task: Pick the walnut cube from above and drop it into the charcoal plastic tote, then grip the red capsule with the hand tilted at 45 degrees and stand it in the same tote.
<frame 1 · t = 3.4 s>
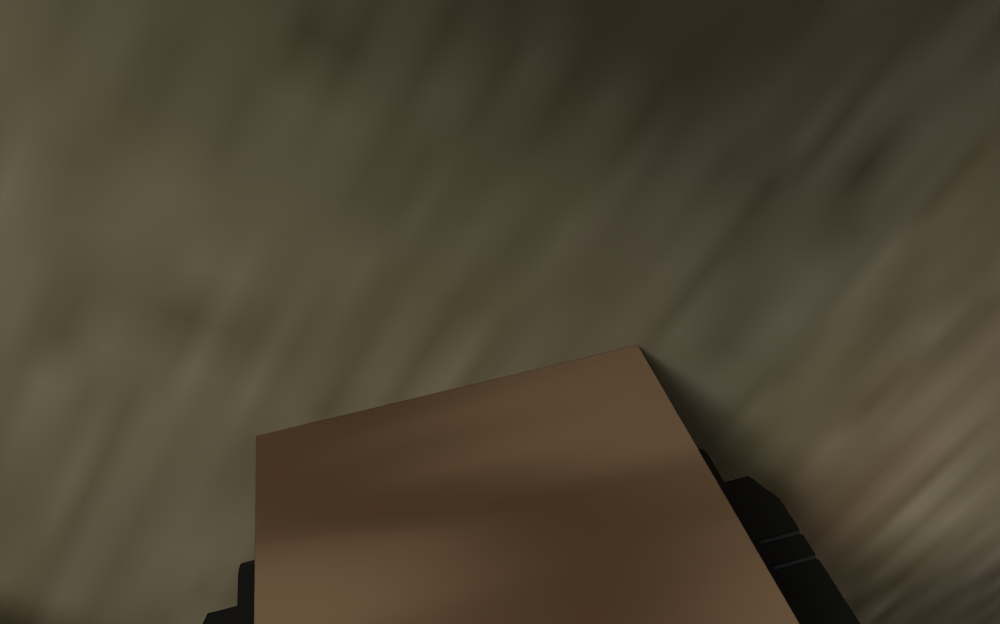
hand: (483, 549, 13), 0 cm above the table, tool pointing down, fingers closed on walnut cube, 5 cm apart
walnut cube: (478, 522, 13), on the table, touching gripper
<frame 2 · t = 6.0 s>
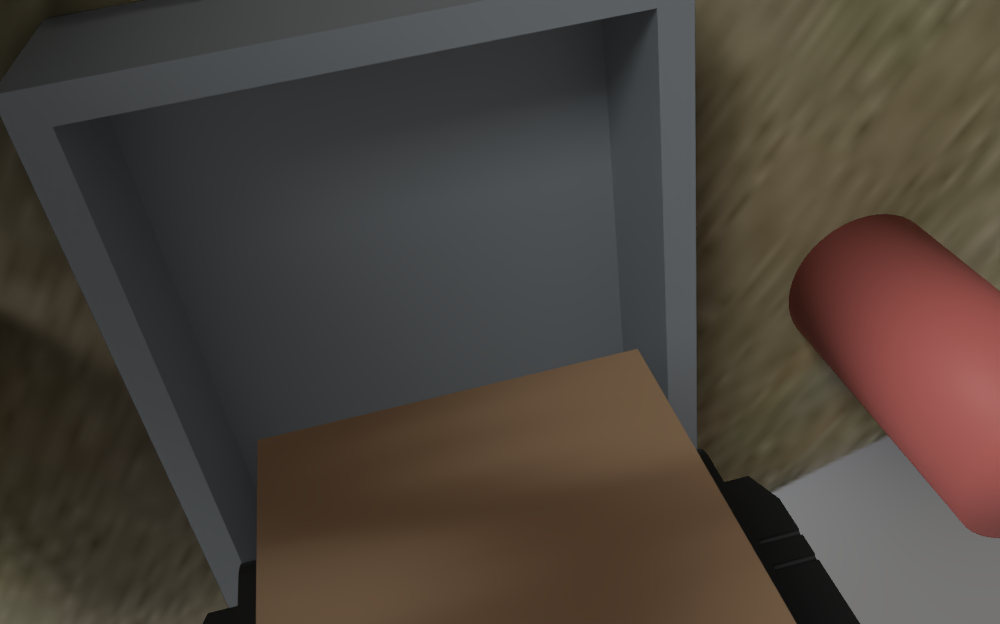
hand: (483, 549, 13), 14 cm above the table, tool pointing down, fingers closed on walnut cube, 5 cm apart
walnut cube: (479, 525, 13), point 14 cm above the table, touching gripper
red capsule: (859, 282, 30), on the table
tote: (407, 276, 27), on the table
when the fingers open (3 cm above the table, at t = 8.5 s): walnut cube drops 1 cm, resting on tote.
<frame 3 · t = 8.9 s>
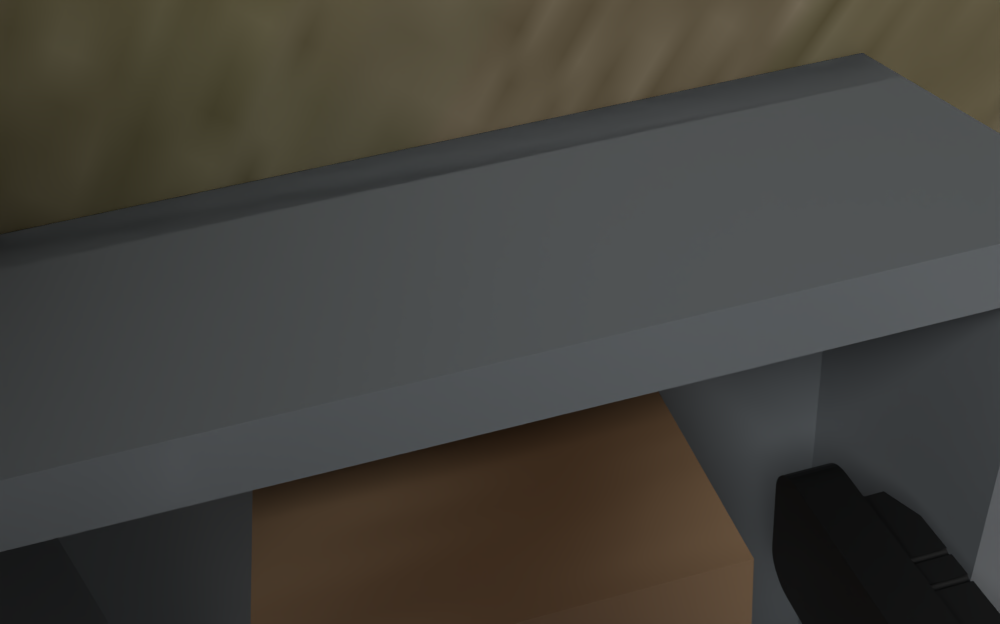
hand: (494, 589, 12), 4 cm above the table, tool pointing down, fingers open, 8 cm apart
walnut cube: (459, 461, 14), point 1 cm above the table, touching tote
tote: (483, 575, 17), on the table
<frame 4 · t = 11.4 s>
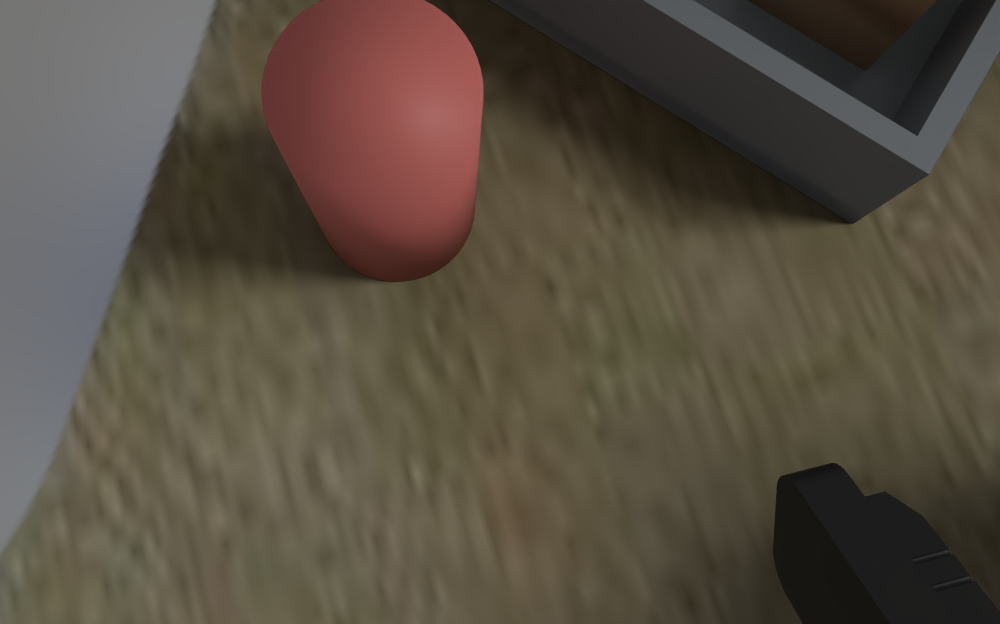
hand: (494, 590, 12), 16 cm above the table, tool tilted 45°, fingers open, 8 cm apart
red capsule: (397, 206, 30), on the table
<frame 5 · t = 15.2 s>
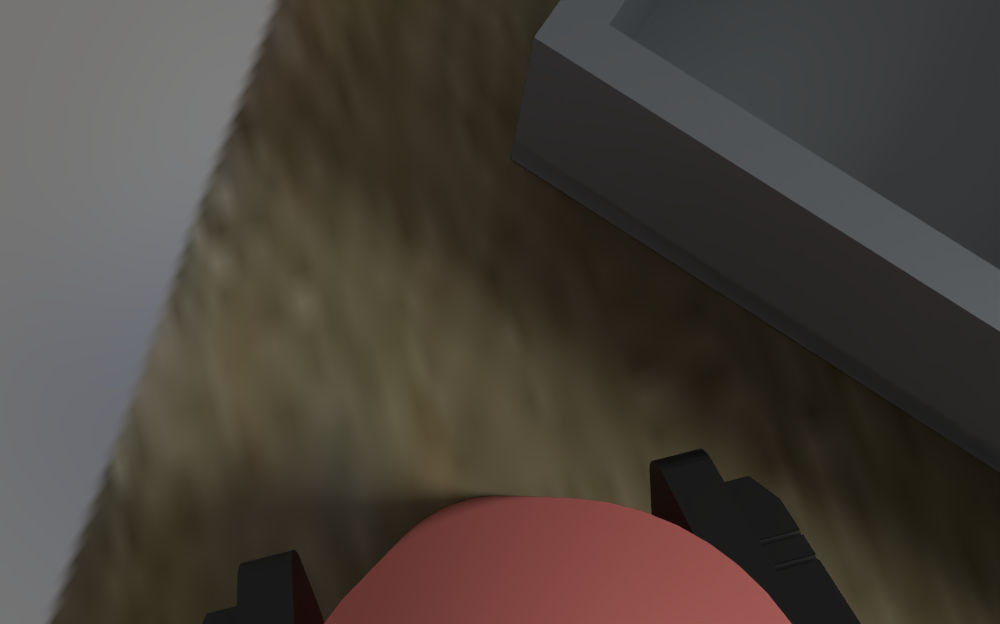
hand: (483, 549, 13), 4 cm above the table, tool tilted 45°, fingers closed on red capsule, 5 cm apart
when the fingers open (7 cm above the table, at t = 20.1 s): red capsule drops 1 cm, resting on tote.
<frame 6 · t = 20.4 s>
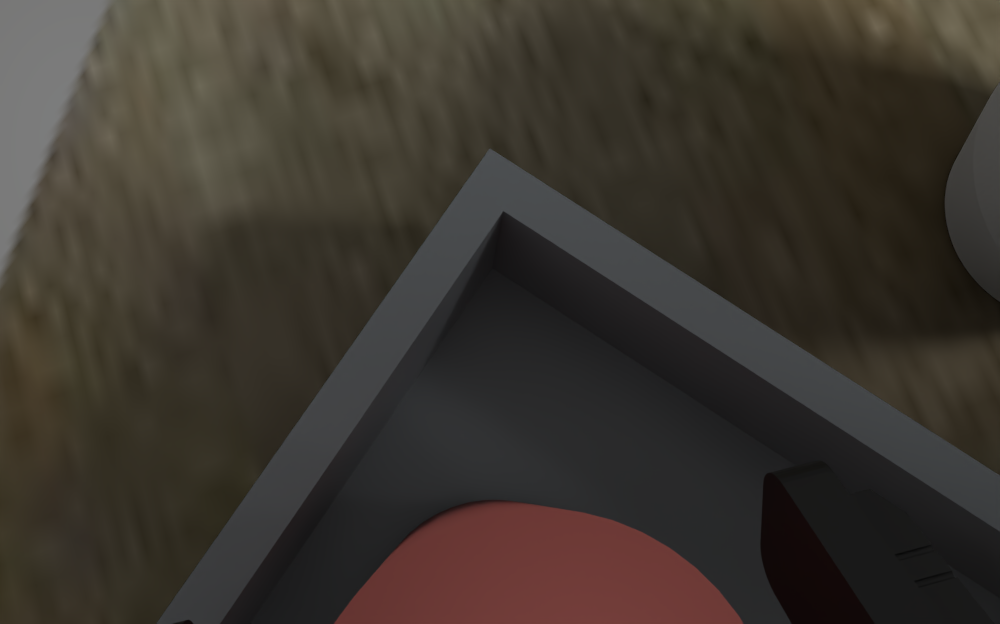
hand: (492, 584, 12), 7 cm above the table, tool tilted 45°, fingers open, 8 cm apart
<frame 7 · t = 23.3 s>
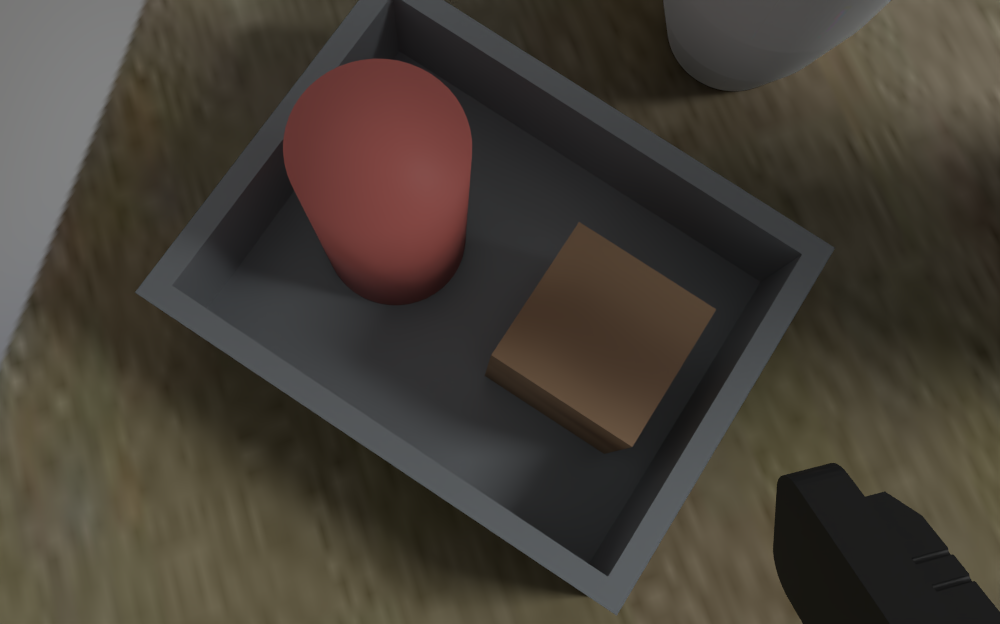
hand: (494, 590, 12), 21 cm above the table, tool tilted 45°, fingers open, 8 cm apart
cup: (727, 35, 37), on the table
walnut cube: (581, 355, 33), point 1 cm above the table, touching tote
red capsule: (396, 237, 33), point 1 cm above the table, touching tote
tote: (487, 301, 34), on the table
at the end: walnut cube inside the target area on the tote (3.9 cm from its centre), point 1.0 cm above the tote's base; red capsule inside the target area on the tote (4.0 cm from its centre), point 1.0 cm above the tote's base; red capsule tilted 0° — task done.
